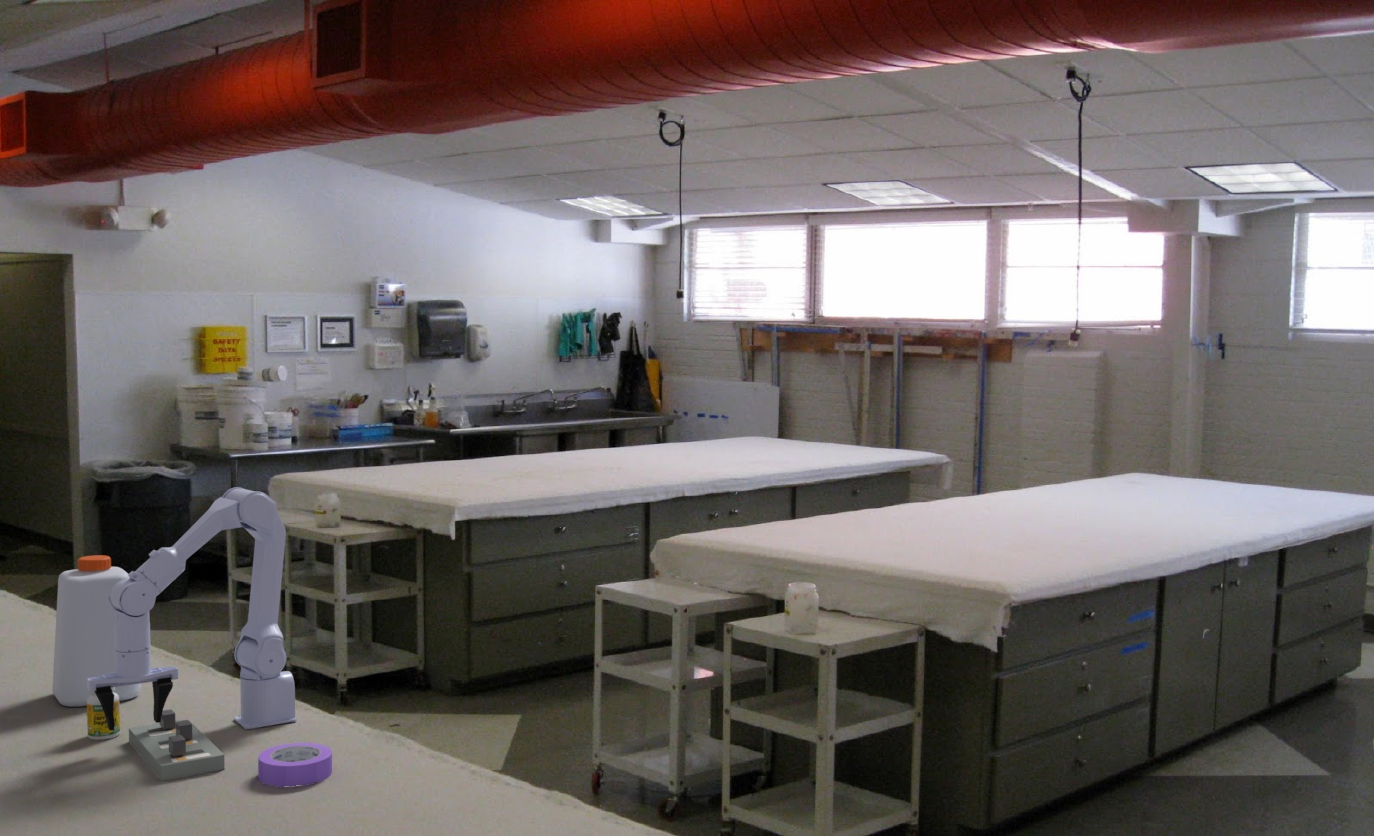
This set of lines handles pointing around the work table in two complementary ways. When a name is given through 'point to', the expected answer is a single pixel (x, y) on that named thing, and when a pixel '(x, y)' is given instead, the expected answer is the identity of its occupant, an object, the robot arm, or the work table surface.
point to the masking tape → (294, 764)
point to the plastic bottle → (86, 630)
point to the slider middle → (184, 729)
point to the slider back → (168, 719)
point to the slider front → (177, 745)
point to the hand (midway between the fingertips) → (134, 724)
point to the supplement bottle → (101, 718)
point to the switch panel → (156, 754)
